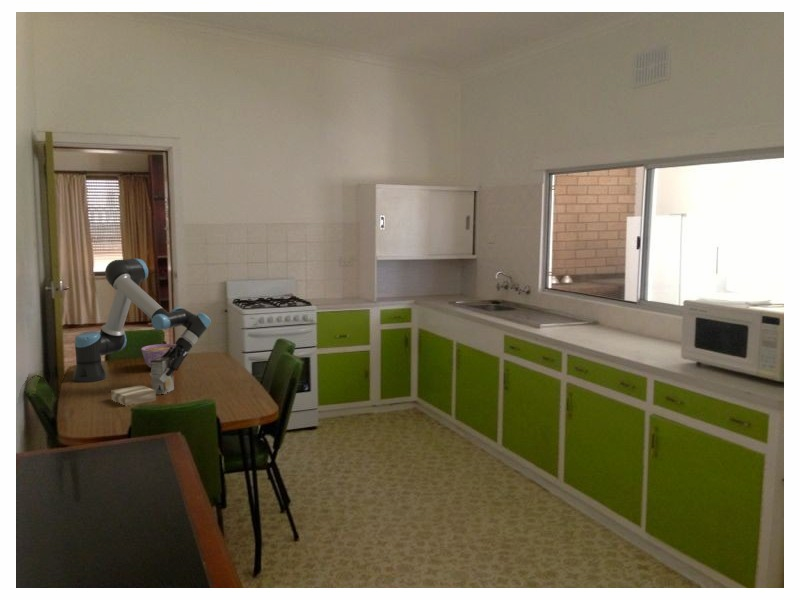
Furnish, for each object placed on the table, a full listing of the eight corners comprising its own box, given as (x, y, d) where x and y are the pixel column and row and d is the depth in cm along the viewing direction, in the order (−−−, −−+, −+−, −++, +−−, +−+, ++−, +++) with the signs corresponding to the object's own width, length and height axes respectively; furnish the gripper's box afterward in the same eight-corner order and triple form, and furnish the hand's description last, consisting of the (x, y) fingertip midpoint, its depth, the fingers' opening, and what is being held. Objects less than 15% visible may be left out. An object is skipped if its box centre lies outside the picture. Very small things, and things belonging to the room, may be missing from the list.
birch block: (111, 401, 303) (111, 390, 302) (141, 395, 313) (140, 384, 312) (125, 407, 294) (125, 396, 293) (155, 401, 304) (155, 390, 303)
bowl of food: (188, 367, 369) (188, 346, 367) (158, 374, 352) (157, 352, 350) (164, 362, 379) (164, 342, 378) (134, 369, 363) (133, 348, 361)
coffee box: (162, 389, 322) (161, 356, 320) (174, 389, 321) (173, 357, 319) (151, 394, 314) (150, 360, 311) (164, 394, 312) (162, 361, 310)
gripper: (203, 349, 318) (173, 387, 309) (180, 342, 333) (151, 379, 324) (192, 339, 313) (161, 378, 304) (170, 333, 329) (140, 370, 320)
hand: (156, 378), depth 314 cm, fingers closed on coffee box, 10 cm apart
